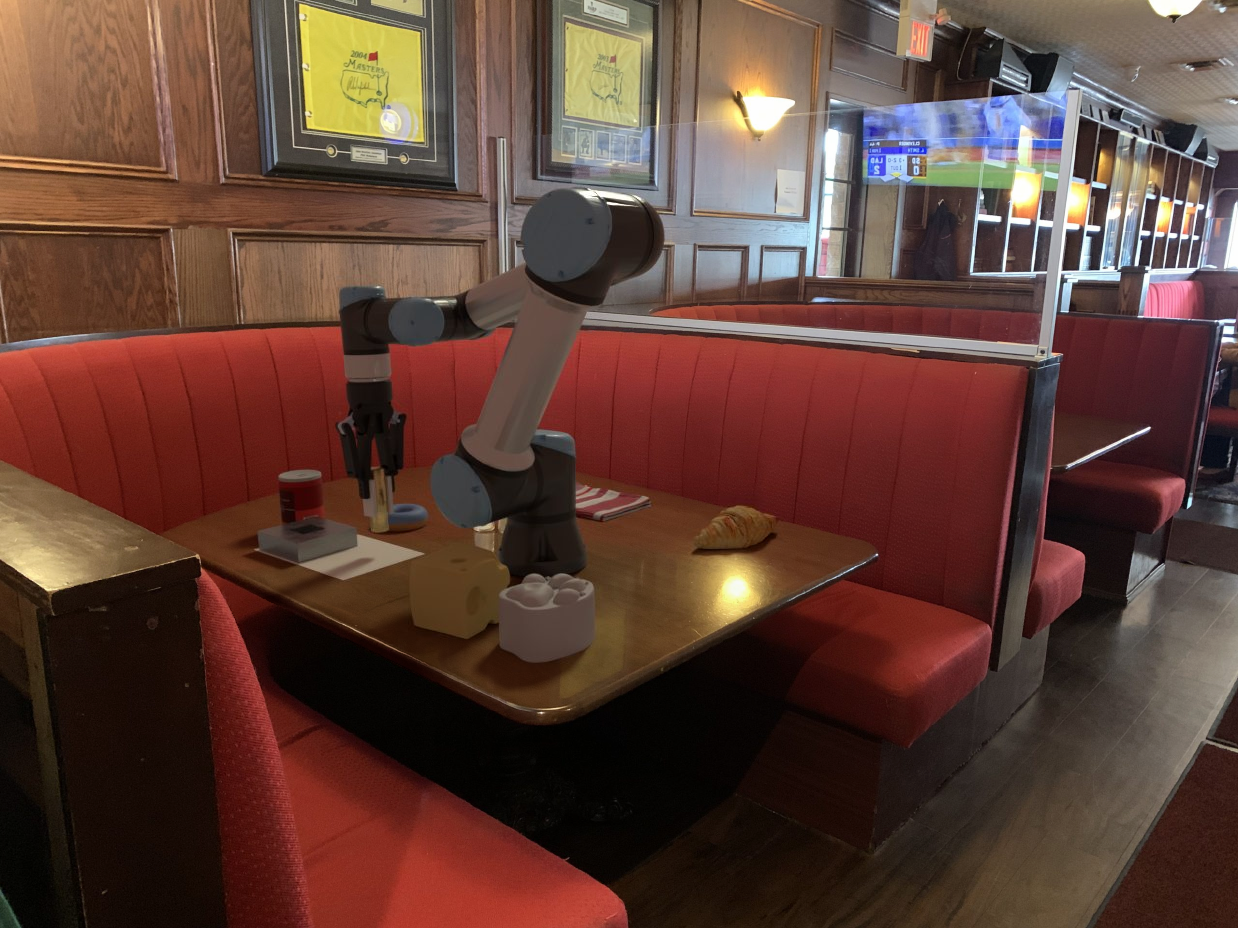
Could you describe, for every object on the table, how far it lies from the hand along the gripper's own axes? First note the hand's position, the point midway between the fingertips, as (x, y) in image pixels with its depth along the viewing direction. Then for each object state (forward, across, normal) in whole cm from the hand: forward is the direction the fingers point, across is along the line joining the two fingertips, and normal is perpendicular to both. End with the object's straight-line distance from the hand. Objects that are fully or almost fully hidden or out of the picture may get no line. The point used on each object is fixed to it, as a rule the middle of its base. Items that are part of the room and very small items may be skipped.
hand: (379, 513), depth 155 cm
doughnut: (+8, -14, -12) cm, 20 cm away
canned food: (+7, -1, -25) cm, 26 cm away
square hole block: (+7, +6, -13) cm, 16 cm away
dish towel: (+9, -49, +6) cm, 50 cm away
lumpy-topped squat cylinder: (+9, +9, +48) cm, 50 cm away
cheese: (+9, +12, +33) cm, 36 cm away
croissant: (+9, -46, +44) cm, 65 cm away
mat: (+7, +4, -7) cm, 11 cm away
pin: (+3, 0, 0) cm, 3 cm away
